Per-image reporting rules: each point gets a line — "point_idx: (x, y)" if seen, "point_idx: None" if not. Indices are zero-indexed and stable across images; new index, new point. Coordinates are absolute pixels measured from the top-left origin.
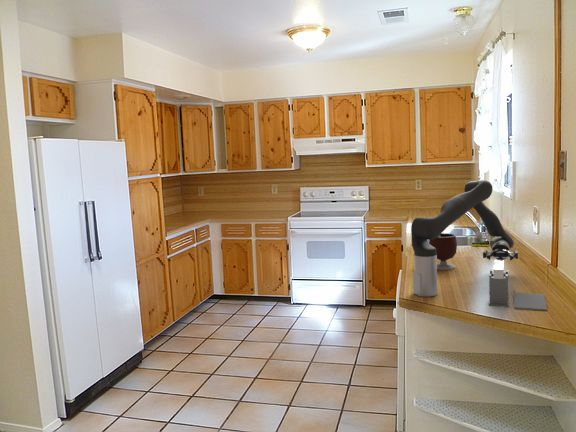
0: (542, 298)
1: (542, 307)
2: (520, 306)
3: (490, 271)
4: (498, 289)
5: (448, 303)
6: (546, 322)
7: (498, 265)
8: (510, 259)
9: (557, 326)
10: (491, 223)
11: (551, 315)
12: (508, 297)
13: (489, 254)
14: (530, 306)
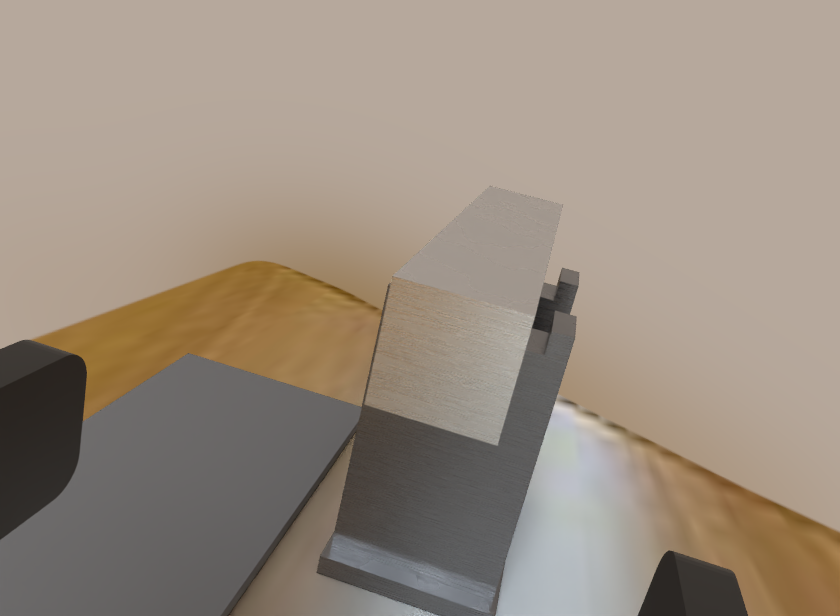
0: None
1: (193, 372)
2: (322, 408)
3: (570, 316)
4: None
5: (814, 576)
6: (291, 304)
7: (511, 223)
8: (68, 449)
9: (272, 282)
10: None
11: (212, 331)
12: (328, 546)
13: (710, 606)
14: (257, 396)
